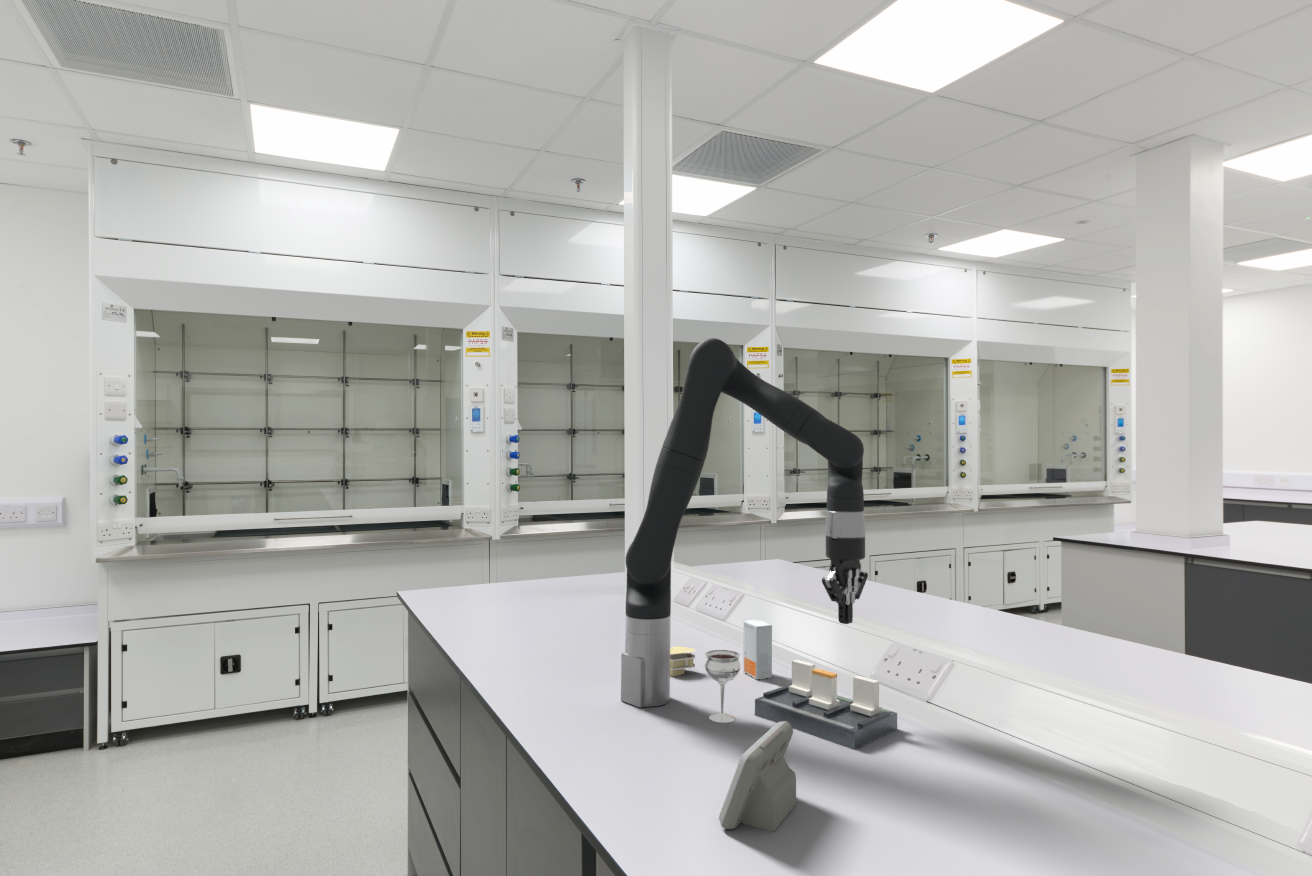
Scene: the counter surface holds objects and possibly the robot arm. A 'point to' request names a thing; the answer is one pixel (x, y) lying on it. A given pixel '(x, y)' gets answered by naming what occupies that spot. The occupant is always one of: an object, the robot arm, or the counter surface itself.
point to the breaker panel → (825, 718)
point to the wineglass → (722, 675)
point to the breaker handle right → (865, 696)
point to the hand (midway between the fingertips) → (845, 622)
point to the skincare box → (757, 649)
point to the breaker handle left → (801, 678)
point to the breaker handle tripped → (824, 689)
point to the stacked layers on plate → (680, 660)
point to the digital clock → (762, 783)
